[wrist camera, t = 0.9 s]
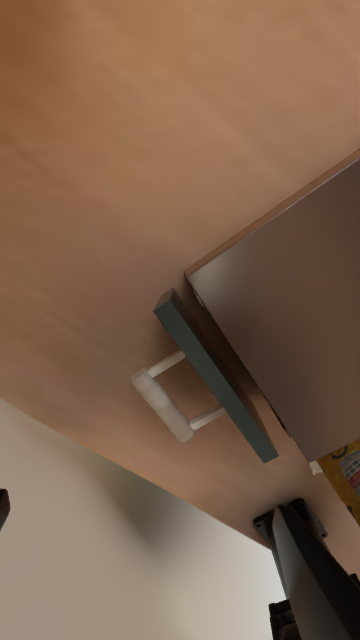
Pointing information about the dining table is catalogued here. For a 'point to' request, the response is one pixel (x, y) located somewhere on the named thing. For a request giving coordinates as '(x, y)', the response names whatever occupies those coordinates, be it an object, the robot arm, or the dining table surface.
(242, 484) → the dining table surface
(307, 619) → the robot arm
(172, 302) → the drawer
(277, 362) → the cabinet
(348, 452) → the condiment
